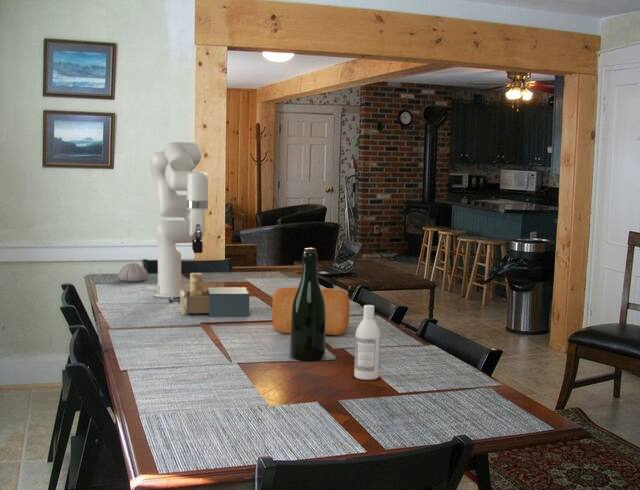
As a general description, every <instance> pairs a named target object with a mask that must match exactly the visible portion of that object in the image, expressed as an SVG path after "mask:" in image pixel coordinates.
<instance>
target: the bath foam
mask: <svg viewBox="0 0 640 490" xmlns="http://www.w3.org/2000/svg"><path fill="white" fill-rule="evenodd" d="M381 344H382V334H381V328H380V327H379V325H378V323H377V321H376V319H375V305H373V304H365V305H363V317H362V320H361V321H360V323H359V324H358V326H357V327H356V331H355V338H354V363H353V365H354V366H353V368H354V369H353V370H354V371H353V375H354V378H355V379H358V380H362V381H374V380H378V379H379V378H380V368H381Z"/></svg>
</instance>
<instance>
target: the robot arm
mask: <svg viewBox="0 0 640 490" xmlns="http://www.w3.org/2000/svg"><path fill="white" fill-rule="evenodd" d="M201 160H202V149H201V147H200V145H198V144H197V143H195V142H184V141H183V142H182V141H173V142H168V143H167V144H166V145H165V147H164V148H163V150H162V151H156V152H153V153H152V154H151V155H150V157H149V167H150V172H151V175H152V177H153V180H154V184H155V189H156V204H157V212H158V214H159V216H160V217H162V218H172V219H173V218H175V220H174V219H173V220H171V219H170V220H167V219H166V220H161V221H160V222H158V223H156V225H155V229H154V230H155V231H154V232H155V237H156V244H157V245H156V247H157V283H156V285H154V286H151V285H146V291H147V292H153V296H154V297H157V298H161V299H162V298H164V299H169V297H172V298H180V290H182V252H181V250H180V249H179V248H178V247H177V246H176V245H177V244H191V245H192V247H191V248H192V249H191V250H192V251H193V254H203V251H204V249H203V245H204V243H203V237H204V234H205V213H206V211H207V210H208V209H209V201H208V200H209V175H208V173H207V172H204V171H200V170H199V171H198V170H195V168H196V167H197V166H198V165H199V164H200V163H201ZM179 192H186V194H179ZM176 218H182V219H183V220H178V219H177V220H176ZM184 296H186V292H184Z"/></svg>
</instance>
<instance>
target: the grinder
mask: <svg viewBox="0 0 640 490" xmlns="http://www.w3.org/2000/svg"><path fill="white" fill-rule="evenodd" d="M203 277H204V276H203V273H201V272H190V273H189V291H190V296H202V291H203V280H204V279H203Z"/></svg>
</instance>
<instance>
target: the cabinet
mask: <svg viewBox="0 0 640 490" xmlns="http://www.w3.org/2000/svg"><path fill="white" fill-rule="evenodd" d="M206 291H208V293H209V313H207V314H208V317H209V318H219V317H220V318H222V317H225V318H227V317H250V292H249V290H248V289H247V287H245V286H244V287H243V286H240V287H239V286H236V287H235V286H234V287H233V286H232V287H229V286H228V287H221V286H220V287H213V286H212V287H211V286H210V287H208V286H207V287H206Z"/></svg>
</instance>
